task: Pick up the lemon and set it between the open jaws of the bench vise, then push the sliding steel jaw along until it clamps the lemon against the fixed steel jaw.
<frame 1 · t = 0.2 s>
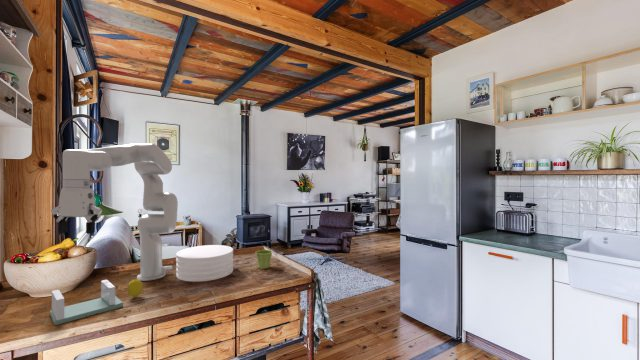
hand: (76, 233, 106), 31 cm above the worktop, tool pointing down, fingers open, 9 cm apart
vise base: (87, 310, 114), on the worktop
plate stack: (205, 272, 159), on the worktop
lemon: (135, 298, 126), on the worktop
vise jaw: (107, 292, 118), point 5 cm above the worktop, slide at 0.0 cm
plant pot: (264, 267, 168), on the worktop
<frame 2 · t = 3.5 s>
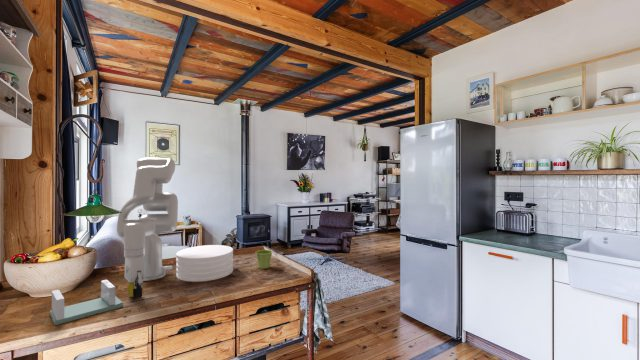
hand: (135, 295, 126), 1 cm above the worktop, tool pointing down, fingers closed on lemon, 5 cm apart
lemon: (135, 298, 126), on the worktop, touching gripper
everything else where it was.
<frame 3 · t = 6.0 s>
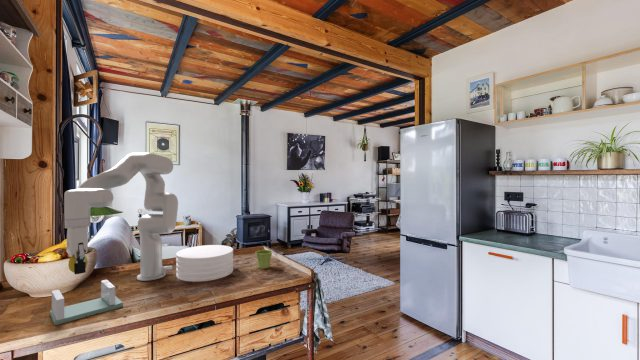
hand: (78, 271, 111), 16 cm above the worktop, tool pointing down, fingers closed on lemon, 5 cm apart
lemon: (78, 274, 112), point 14 cm above the worktop, touching gripper
everything else where it was.
when the fingers open (4 cm above the worktop, at t = 8.7 s): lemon stays where it is, resting on vise base.
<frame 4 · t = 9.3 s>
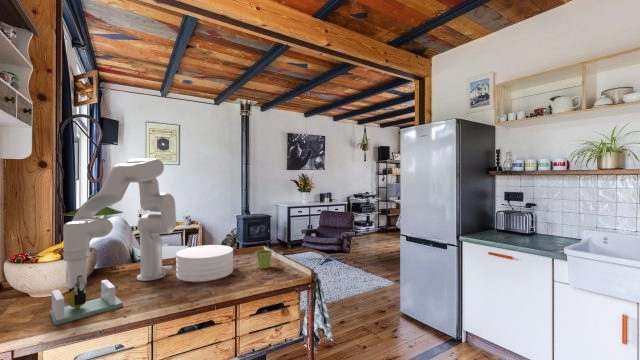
hand: (77, 300, 111), 5 cm above the worktop, tool pointing down, fingers open, 9 cm apart
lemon: (78, 309, 112), point 1 cm above the worktop, touching vise base
everything else where it was.
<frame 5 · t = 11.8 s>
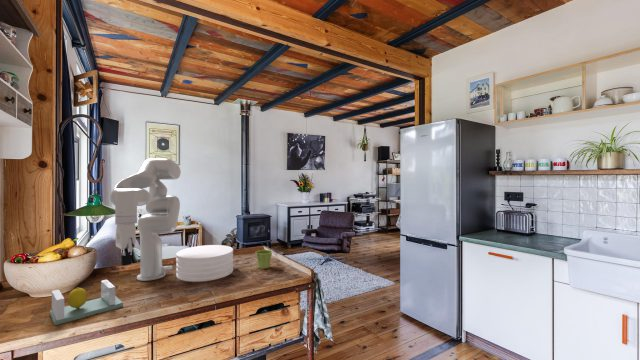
hand: (126, 264, 123), 15 cm above the worktop, tool pointing down, fingers closed
nothing on the worktop moved.
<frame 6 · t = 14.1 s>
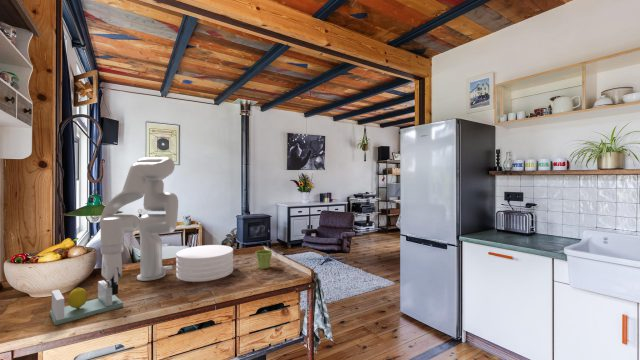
hand: (112, 294, 120), 4 cm above the worktop, tool pointing down, fingers closed
vise jaw: (104, 292, 118), point 5 cm above the worktop, slide at 1.0 cm, touching gripper
everything else where it was.
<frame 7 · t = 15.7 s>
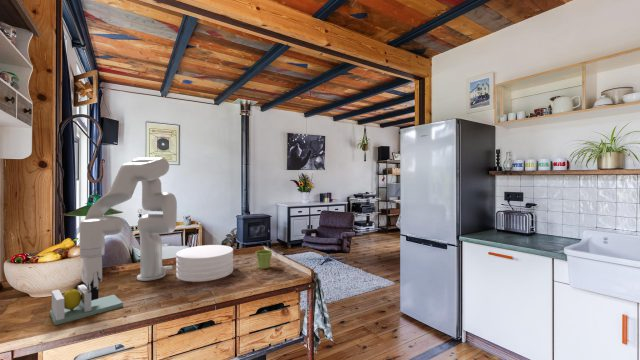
hand: (92, 299, 115), 4 cm above the worktop, tool pointing down, fingers closed
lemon: (71, 310, 110), point 1 cm above the worktop, touching vise base, vise jaw
vise jaw: (84, 297, 113), point 5 cm above the worktop, slide at 7.4 cm, touching gripper, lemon
everything else where it was.
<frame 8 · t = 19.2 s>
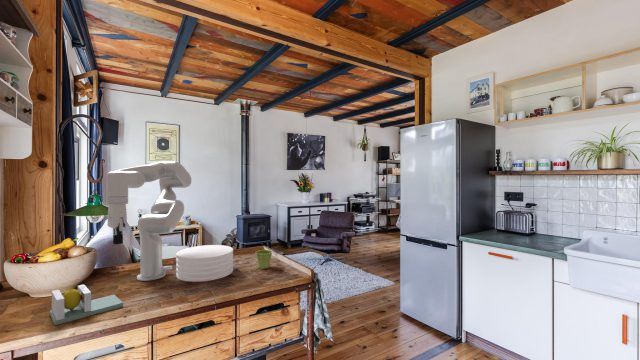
hand: (118, 243, 128), 22 cm above the worktop, tool pointing down, fingers closed
vise jaw: (84, 297, 113), point 5 cm above the worktop, slide at 7.5 cm, touching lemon
everything else where it was.
at the end: vise jaw slide at 7.5 cm; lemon touching vise base, vise jaw; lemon 0.6 cm from the target spot on the vise base, point 1.3 cm above the vise base's base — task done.
